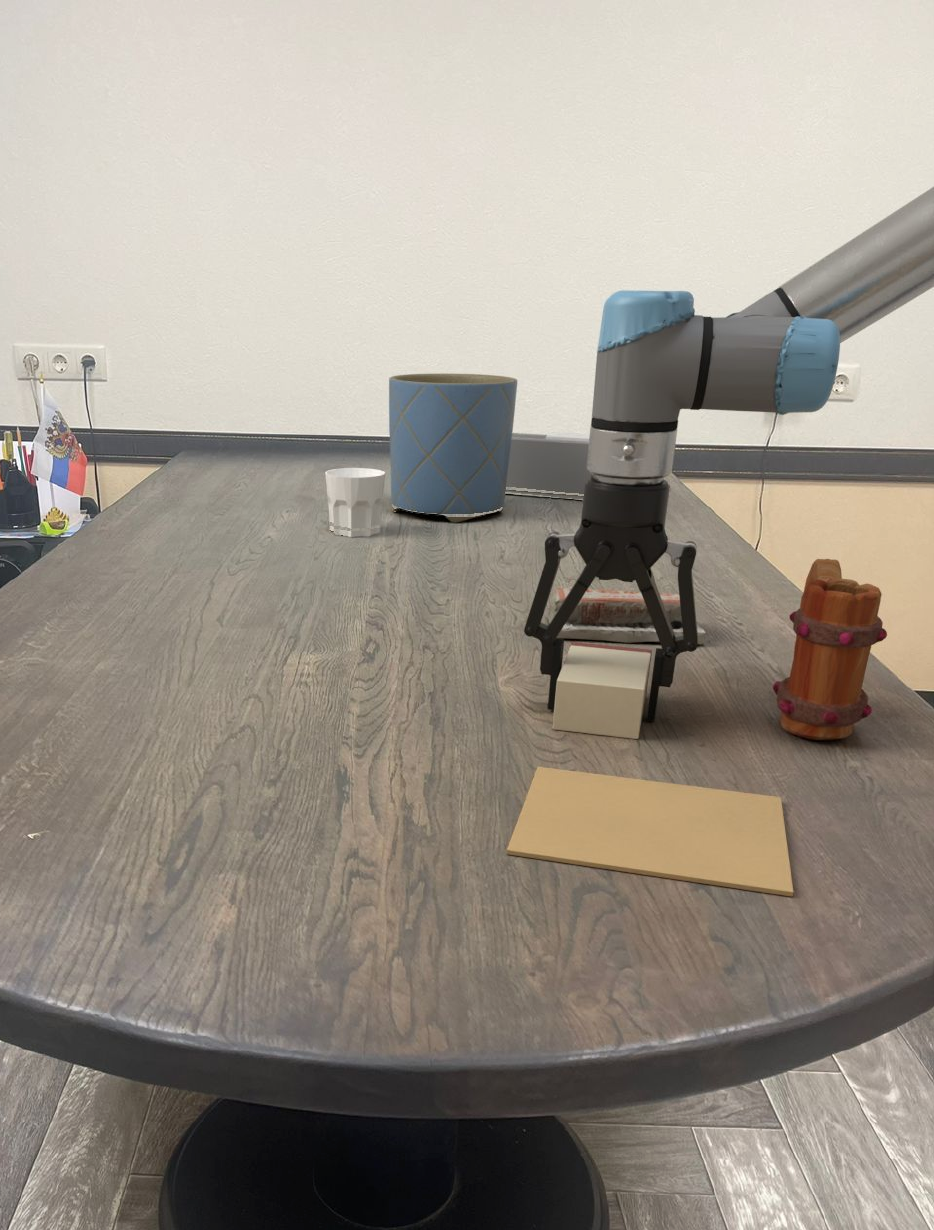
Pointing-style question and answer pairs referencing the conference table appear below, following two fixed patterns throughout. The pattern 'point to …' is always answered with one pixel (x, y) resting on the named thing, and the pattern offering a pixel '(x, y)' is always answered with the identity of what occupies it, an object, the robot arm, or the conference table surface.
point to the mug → (830, 655)
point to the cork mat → (655, 830)
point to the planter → (450, 442)
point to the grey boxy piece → (616, 616)
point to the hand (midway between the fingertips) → (601, 710)
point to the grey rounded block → (549, 463)
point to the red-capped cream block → (602, 690)
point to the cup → (355, 499)
